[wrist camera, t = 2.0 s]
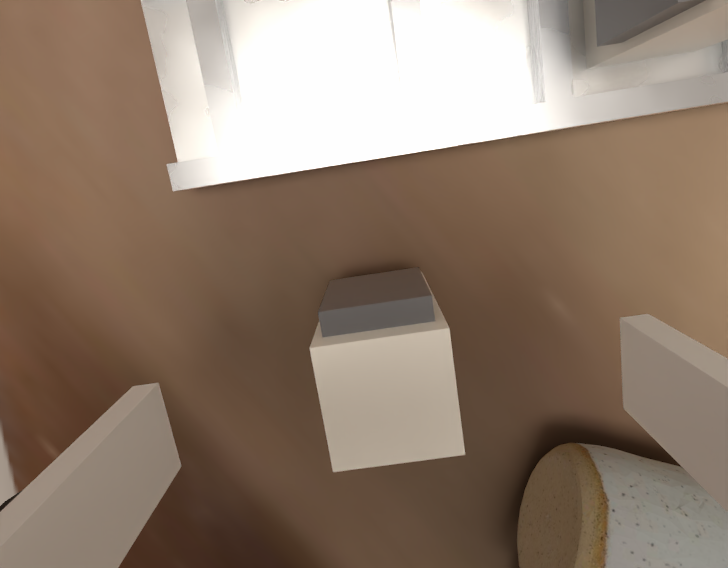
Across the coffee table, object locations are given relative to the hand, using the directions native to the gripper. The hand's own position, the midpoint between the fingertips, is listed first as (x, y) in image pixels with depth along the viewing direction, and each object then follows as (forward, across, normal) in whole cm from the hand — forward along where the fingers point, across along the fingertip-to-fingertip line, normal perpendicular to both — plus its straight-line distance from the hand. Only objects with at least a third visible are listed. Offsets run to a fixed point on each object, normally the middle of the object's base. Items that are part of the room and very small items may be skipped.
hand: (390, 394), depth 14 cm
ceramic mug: (+8, -9, +12) cm, 17 cm away
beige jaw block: (+8, 0, +1) cm, 8 cm away
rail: (+8, -5, -10) cm, 14 cm away
